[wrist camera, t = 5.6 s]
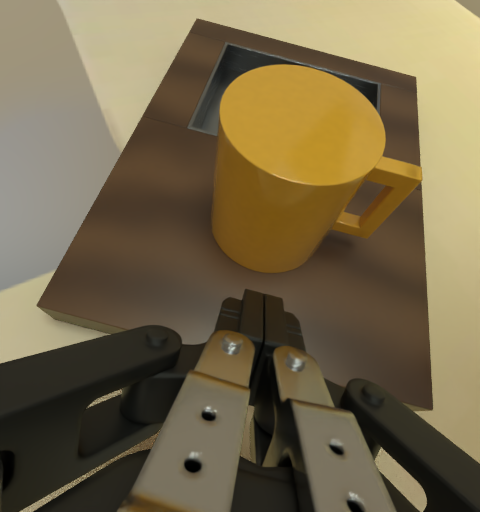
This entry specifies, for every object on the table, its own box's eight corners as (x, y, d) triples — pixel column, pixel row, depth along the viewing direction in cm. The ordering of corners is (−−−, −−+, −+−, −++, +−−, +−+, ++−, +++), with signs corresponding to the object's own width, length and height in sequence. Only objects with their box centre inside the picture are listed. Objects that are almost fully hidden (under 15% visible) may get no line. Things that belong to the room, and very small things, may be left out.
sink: (362, 198, 27) (377, 178, 25) (187, 152, 27) (186, 127, 24) (368, 106, 32) (381, 83, 30) (223, 67, 32) (225, 41, 30)
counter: (406, 411, 20) (433, 410, 17) (53, 319, 19) (35, 305, 17) (401, 99, 34) (416, 76, 31) (196, 44, 33) (196, 18, 31)
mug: (196, 256, 20) (197, 156, 12) (226, 167, 23) (241, 48, 16) (352, 297, 20) (447, 222, 12) (358, 202, 23) (435, 100, 16)
